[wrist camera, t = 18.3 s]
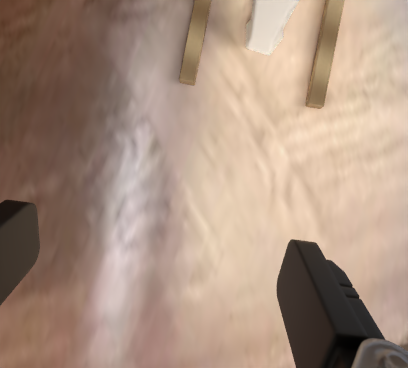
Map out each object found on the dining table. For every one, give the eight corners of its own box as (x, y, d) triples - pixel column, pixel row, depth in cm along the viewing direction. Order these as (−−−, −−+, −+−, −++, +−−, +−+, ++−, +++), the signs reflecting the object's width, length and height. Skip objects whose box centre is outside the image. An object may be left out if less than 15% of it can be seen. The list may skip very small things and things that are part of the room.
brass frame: (320, 109, 30) (323, 106, 29) (180, 82, 31) (178, 79, 30) (346, -24, 30) (350, -31, 29) (206, -48, 31) (205, -56, 30)
